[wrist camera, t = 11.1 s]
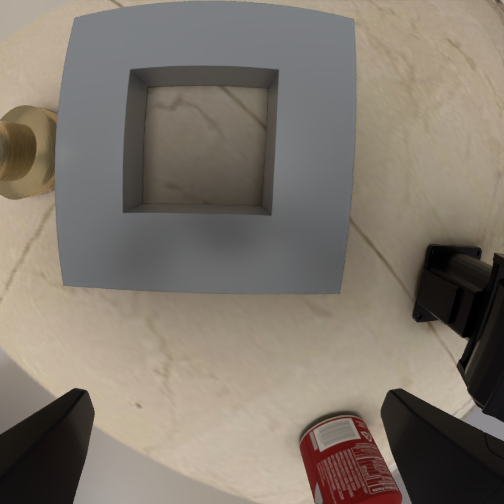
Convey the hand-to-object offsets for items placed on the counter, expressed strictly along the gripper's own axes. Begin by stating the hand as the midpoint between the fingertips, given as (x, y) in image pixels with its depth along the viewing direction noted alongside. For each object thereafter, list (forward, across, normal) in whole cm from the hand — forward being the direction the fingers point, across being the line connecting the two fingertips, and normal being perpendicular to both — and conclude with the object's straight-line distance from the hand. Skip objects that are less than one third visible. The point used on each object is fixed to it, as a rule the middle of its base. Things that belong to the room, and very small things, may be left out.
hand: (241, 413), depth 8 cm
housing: (+13, +2, -8) cm, 15 cm away
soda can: (+13, -10, +17) cm, 24 cm away
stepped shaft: (+13, +14, -8) cm, 21 cm away
